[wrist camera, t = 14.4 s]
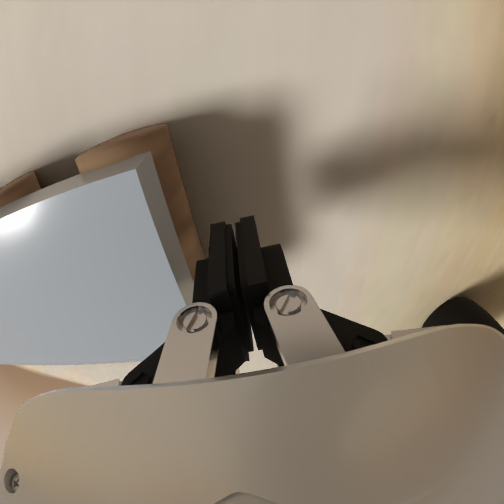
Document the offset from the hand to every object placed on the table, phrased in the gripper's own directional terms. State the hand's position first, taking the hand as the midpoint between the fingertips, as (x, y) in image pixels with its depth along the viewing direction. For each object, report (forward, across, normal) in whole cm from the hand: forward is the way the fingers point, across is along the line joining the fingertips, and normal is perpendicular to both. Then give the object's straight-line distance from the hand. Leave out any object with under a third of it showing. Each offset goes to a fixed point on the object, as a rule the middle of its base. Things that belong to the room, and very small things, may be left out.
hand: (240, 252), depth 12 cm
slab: (+1, +12, 0) cm, 12 cm away
